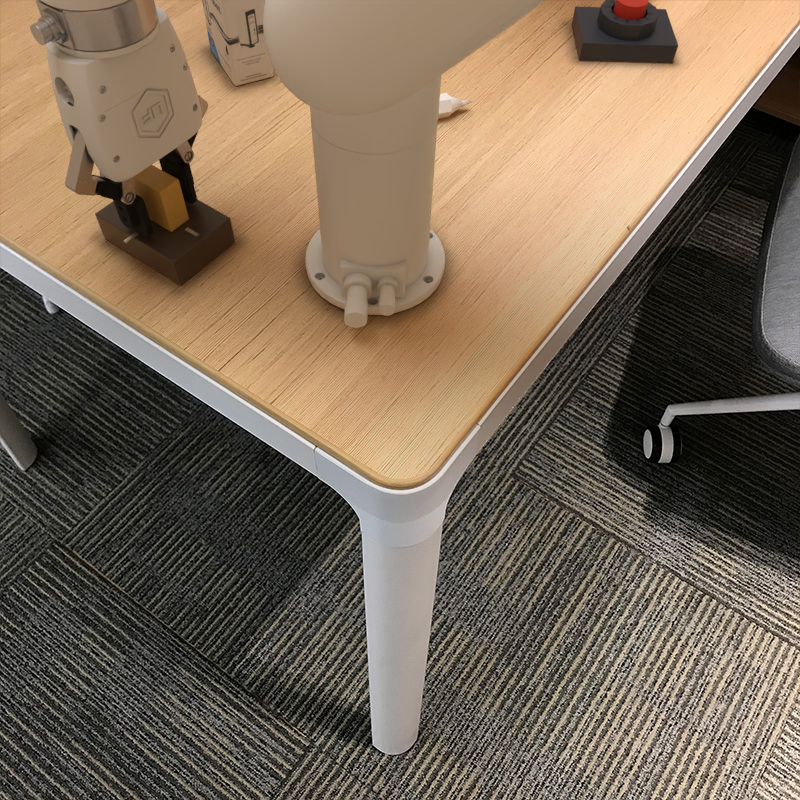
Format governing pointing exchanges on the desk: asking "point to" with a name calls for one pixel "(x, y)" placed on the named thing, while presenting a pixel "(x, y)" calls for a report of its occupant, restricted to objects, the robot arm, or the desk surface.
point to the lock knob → (161, 197)
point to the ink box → (238, 38)
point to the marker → (449, 105)
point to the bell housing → (623, 35)
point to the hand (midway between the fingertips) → (160, 210)
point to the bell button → (630, 9)
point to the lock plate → (173, 240)
